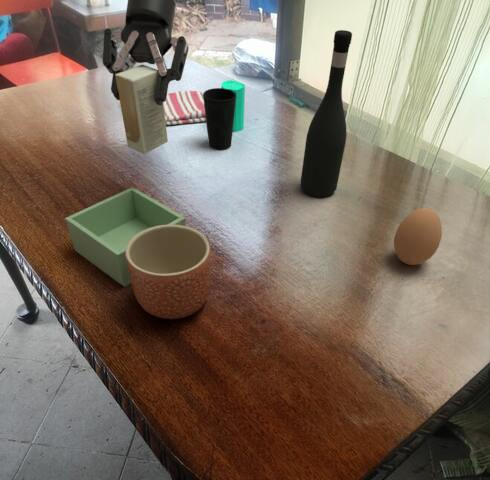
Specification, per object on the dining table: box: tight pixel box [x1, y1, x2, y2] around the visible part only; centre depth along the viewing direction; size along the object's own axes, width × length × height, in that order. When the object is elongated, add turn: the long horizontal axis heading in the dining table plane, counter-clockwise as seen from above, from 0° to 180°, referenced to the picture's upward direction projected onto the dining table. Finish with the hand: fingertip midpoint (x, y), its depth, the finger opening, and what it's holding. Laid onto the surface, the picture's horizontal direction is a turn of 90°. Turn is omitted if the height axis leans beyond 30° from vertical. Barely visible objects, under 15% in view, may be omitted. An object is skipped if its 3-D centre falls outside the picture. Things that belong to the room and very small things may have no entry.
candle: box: [221, 77, 246, 133], centre depth 116 cm, size 6×6×12 cm
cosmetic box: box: [115, 64, 169, 155], centre depth 77 cm, size 6×4×12 cm
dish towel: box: [163, 90, 206, 126], centre depth 124 cm, size 17×23×4 cm
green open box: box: [64, 186, 187, 288], centre depth 81 cm, size 15×15×7 cm
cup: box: [202, 87, 236, 151], centre depth 109 cm, size 8×8×12 cm
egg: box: [393, 207, 443, 266], centre depth 79 cm, size 8×8×11 cm
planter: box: [125, 225, 212, 320], centre depth 70 cm, size 12×12×11 cm
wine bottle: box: [300, 29, 353, 198], centre depth 89 cm, size 8×8×30 cm
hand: (137, 100), depth 75 cm, fingers closed on cosmetic box, 6 cm apart
